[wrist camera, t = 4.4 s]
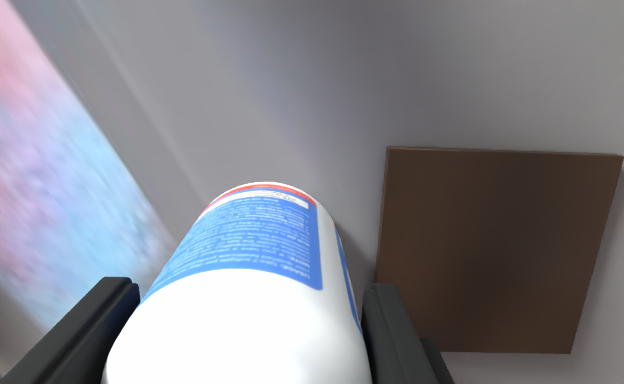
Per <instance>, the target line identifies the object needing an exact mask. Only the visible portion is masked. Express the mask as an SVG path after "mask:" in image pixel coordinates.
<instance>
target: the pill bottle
mask: <svg viewBox="0 0 624 384" xmlns="http://www.w3.org/2000/svg"><path fill="white" fill-rule="evenodd" d="M101 384H373V383H372V377H371V371H370V366H369V361H368V355H367V350H366V345H365V341H364V337H363V333H362V329H361V325H360V321H359V316H358V312H357V307H356V302H355V298H354V293H353V289H352V285H351V280H350V277H349V272H348V267H347V263H346V259H345V254H344V250H343V246H342V242H341V239H340V236H339V233H338V230H337V228H336V225H335V223H334V222H333V220H332V218H331V216H330V215H329V214H328V212H327V211H326V210H325V208H324V207H323V206H322V205H321V204H320V203H319V202H318V201H316V200H315V199H314V198H313V197H311V196H310V195H308V194H307V193H305V192H303V191H302V190H300V189H297V188H295V187H292V186H289V185H285V184H281V183H275V182H257V183H249V184H245V185H241V186H239V187H236V188H233V189H231V190H229V191H227V192H225V193H224V194H222V195H220V196H219V197H218V198H216V199H215V200H214V201H213V202H212V203H211V204H210V205H209V206H208V207H207V208H206V209H205V210H204V211H203V212H202V213H201V215H200V216H199V218H198V219H197V221H196V222H195V224H194V225H193V226H192V228H191V229H190V231H189V232H188V234H187V235H186V237H185V238H184V240H183V241H182V242H181V244H180V245H179V247H178V248H177V250H176V251H175V253H174V254H173V256H172V257H171V258H170V260H169V261H168V263H167V264H166V266H165V267H164V269H163V270H162V271H161V273H160V274H159V276H158V277H157V279H156V280H155V282H154V283H153V285H152V286H151V288H150V289H149V291H148V292H147V294H146V295H145V296H144V298H143V299H142V301H141V302H140V304H139V305H138V307H137V308H136V310H135V311H134V312H133V314H132V315H131V317H130V318H129V320H128V322H127V323H126V325H125V326H124V328H123V330H122V331H121V333H120V335H119V336H118V338H117V339H116V341H115V343H114V345H113V347H112V349H111V351H110V353H109V355H108V358H107V361H106V364H105V367H104V370H103V375H102V380H101Z"/></svg>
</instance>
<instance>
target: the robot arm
mask: <svg viewBox="0 0 624 384" xmlns="http://www.w3.org/2000/svg"><path fill="white" fill-rule="evenodd" d="M139 304H140V292H139V286H138V284H136V283H132V281H131V279H130V278H129V277H104V278H102V279H101V280H100V281H99V282H98V283H97V284H96V285H95V286H94V287H93V288H92V289H91V290H90V291H89V292H88V293H87V294H86V295H85V296H84V297H83V298H82V299H81V300H80V301H79V302H78V303H77V304H76V305H75V306H74V307H73V308H72V309H71V310H70V311H69V312H68V313H67V314H66V315H65V316H64V317H63V318H62V319H61V320H60V321H59V322H58V323H57V324H56V325H55V326H54V327H53V328H52V329H51V330H50V331H49V332H48V333H47V334H46V335H45V336H44V337H43V338H42V339H41V340H40V341H39V342H38V343H37V344H36V345H35V346H34V347H33V348H32V349H31V350H30V351H29V352H28V353H27V354H26V355H25V356H24V358H23V359H22V360H21V361H20V362H19V363H18V364H17V365H16V366H15V367H14V368H13V369H12V370H11V371H10V372H9V373H8V374H7V375H6V376H5V377H4V378H3V379H2V380H1V381H0V384H101V380H102V375H103V370H104V367H105V364H106V361H107V358H108V355H109V353H110V351H111V349H112V347H113V345H114V343H115V341H116V339H117V338H118V336H119V335H120V333H121V331H122V330H123V328H124V326H125V325H126V323H127V322H128V320H129V318H130V317H131V315H132V314H133V312H134V311H135V310H136V308H137V307H138V305H139ZM361 329H362V333H363V337H364V341H365V345H366V350H367V355H368V361H369V366H370V371H371V377H372V383H373V384H455V383H454V381H453V379H452V377H451V375H450V373H449V371H448V369H447V367H446V364H445V362H444V360H443V358H442V356H441V354H440V352H439V350H438V348H437V346H436V344H435V342H434V341H433V339H431V338H419V337H418V335H417V332H416V330H415V328H414V325H413V323H412V321H411V318H410V316H409V314H408V312H407V309H406V307H405V305H404V302H403V300H402V298H401V295H400V293H399V291H398V288H397V286H396V284H384V283H373V284H372V288H371V289H365V290H364V295H363V307H362V319H361Z"/></svg>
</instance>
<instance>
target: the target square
mask: <svg viewBox="0 0 624 384" xmlns="http://www.w3.org/2000/svg"><path fill="white" fill-rule="evenodd" d="M623 159H624V156H622V155H618V154H602V153H572V152H542V151H513V150H483V149H453V148H423V147H394V146H388V147H387V152H386V163H385V174H384V184H383V195H382V206H381V217H380V227H379V238H378V249H377V260H376V270H375V281H374V283H384V284H396V286H397V288H398V291H399V293H400V295H401V298H402V300H403V302H404V305H405V307H406V309H407V312H408V314H409V316H410V318H411V321H412V323H413V325H414V328H415V330H416V332H417V335H418V337H419V338H431V339H433V341H434V342H435V344H436V346H437V348H438V350H439V352H486V353H539V354H570V353H571V350H572V346H573V343H574V339H575V335H576V332H577V328H578V324H579V320H580V317H581V313H582V309H583V306H584V302H585V298H586V295H587V291H588V287H589V284H590V280H591V276H592V273H593V269H594V265H595V262H596V258H597V254H598V251H599V247H600V243H601V240H602V236H603V232H604V229H605V225H606V221H607V218H608V214H609V210H610V207H611V203H612V199H613V195H614V192H615V188H616V184H617V181H618V177H619V173H620V170H621V166H622V162H623Z"/></svg>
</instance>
